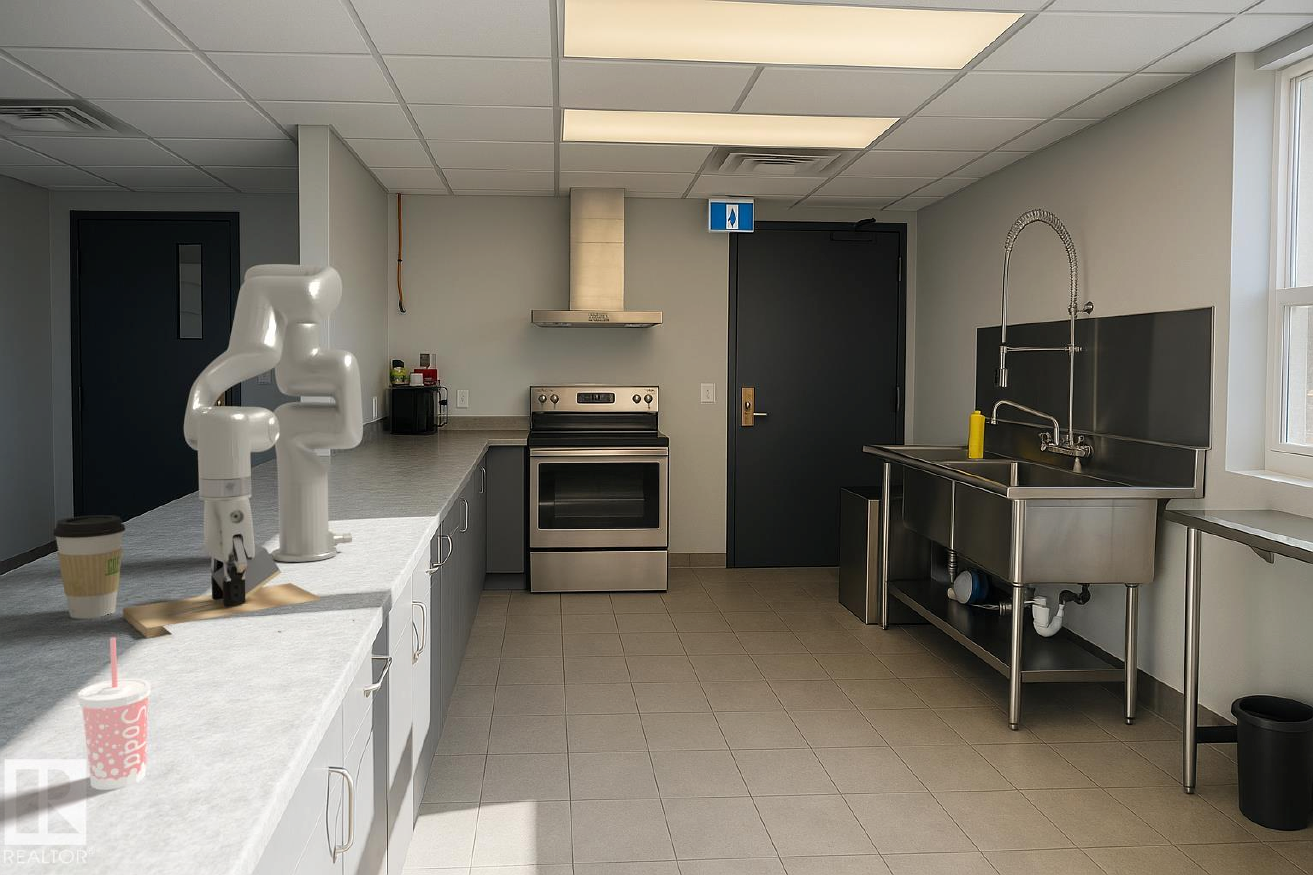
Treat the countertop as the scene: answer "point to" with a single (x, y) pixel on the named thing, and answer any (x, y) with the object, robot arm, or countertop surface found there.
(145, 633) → the board
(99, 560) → the coffee cup
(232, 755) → the countertop surface
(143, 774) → the beverage cup
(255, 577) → the block
